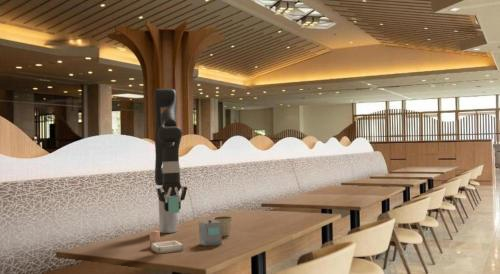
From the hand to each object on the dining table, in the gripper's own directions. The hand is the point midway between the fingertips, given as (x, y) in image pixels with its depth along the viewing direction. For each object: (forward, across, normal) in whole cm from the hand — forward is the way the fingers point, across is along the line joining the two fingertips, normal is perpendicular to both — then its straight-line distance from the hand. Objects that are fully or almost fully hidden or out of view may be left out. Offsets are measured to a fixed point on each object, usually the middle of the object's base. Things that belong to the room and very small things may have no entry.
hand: (172, 210), depth 226 cm
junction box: (+16, -16, +2) cm, 23 cm away
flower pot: (+16, -30, -14) cm, 37 cm away
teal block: (+1, 0, 0) cm, 1 cm away
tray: (+16, +4, +2) cm, 17 cm away
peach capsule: (+16, +6, -7) cm, 19 cm away
